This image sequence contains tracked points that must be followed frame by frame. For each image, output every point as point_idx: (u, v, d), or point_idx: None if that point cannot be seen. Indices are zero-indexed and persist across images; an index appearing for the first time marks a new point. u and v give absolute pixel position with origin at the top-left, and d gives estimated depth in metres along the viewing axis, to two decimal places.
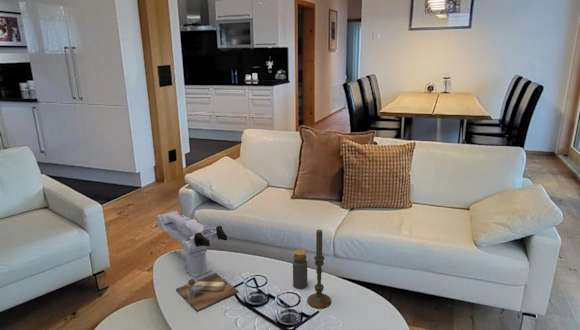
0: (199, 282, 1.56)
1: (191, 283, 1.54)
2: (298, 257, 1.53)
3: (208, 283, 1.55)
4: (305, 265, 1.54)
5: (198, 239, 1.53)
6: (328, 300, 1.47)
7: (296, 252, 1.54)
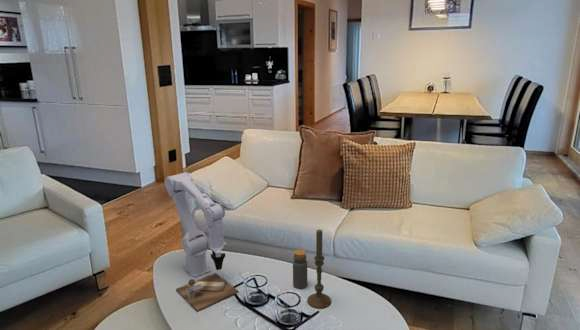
0: (199, 282, 1.56)
1: (191, 283, 1.54)
2: (298, 257, 1.53)
3: (208, 283, 1.55)
4: (305, 265, 1.54)
5: None
6: (328, 300, 1.47)
7: (296, 252, 1.54)
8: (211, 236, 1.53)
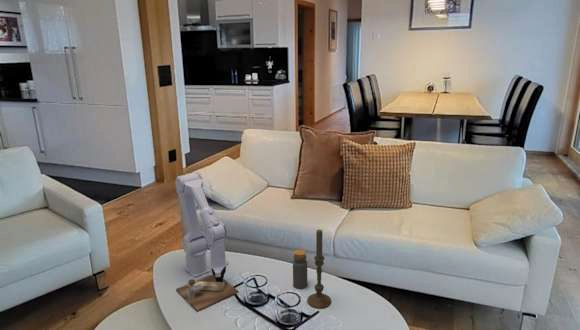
0: (199, 282, 1.56)
1: (191, 283, 1.54)
2: (298, 257, 1.53)
3: (208, 283, 1.55)
4: (305, 265, 1.54)
5: None
6: (328, 300, 1.47)
7: (296, 252, 1.54)
8: (212, 255, 1.52)
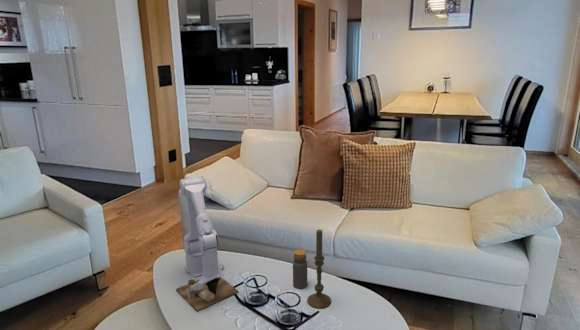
0: None
1: (189, 283, 1.54)
2: (298, 257, 1.53)
3: (202, 289, 1.51)
4: (305, 265, 1.54)
5: None
6: (328, 300, 1.47)
7: (296, 252, 1.54)
8: (203, 264, 1.45)
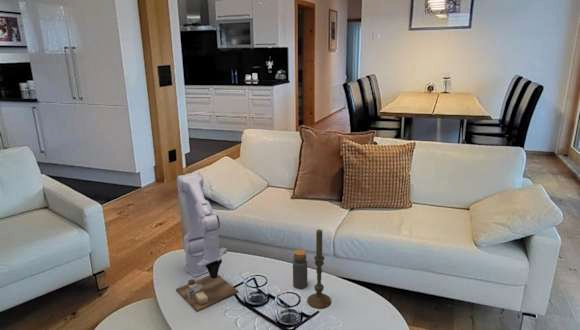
0: None
1: (189, 283, 1.54)
2: (298, 257, 1.53)
3: (198, 291, 1.50)
4: (305, 265, 1.54)
5: None
6: (328, 300, 1.47)
7: (296, 252, 1.54)
8: (205, 247, 1.44)
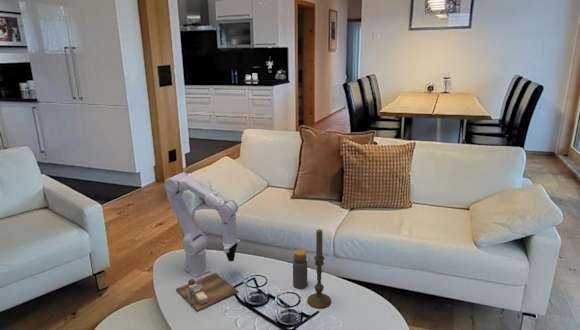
0: None
1: (189, 283, 1.54)
2: (298, 257, 1.53)
3: (198, 291, 1.50)
4: (305, 265, 1.54)
5: None
6: (328, 300, 1.47)
7: (296, 252, 1.54)
8: (227, 232, 1.56)
